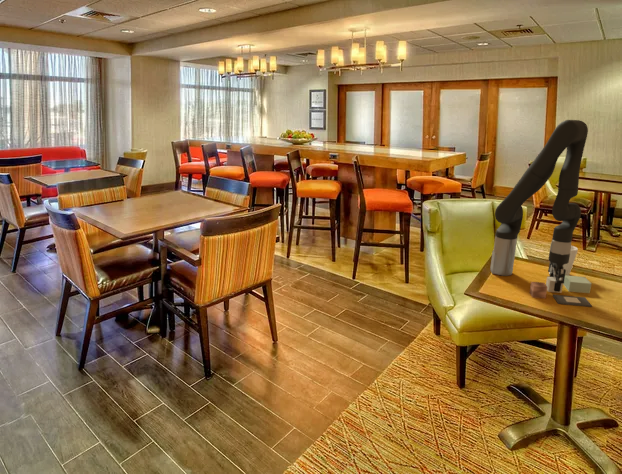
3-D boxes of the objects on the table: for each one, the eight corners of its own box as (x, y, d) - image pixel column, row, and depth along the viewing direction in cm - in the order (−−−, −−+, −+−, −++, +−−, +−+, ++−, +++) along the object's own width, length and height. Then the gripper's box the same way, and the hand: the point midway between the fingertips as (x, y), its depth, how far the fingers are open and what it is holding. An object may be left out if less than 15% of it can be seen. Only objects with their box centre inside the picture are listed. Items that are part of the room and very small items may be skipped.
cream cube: (548, 291, 194) (550, 280, 192) (545, 287, 198) (547, 276, 197) (561, 293, 193) (563, 281, 191) (558, 288, 197) (559, 277, 196)
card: (558, 303, 182) (558, 302, 182) (552, 295, 189) (552, 294, 189) (591, 306, 179) (592, 305, 179) (584, 298, 187) (585, 297, 187)
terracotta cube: (532, 297, 188) (534, 286, 187) (529, 292, 193) (531, 281, 191) (545, 298, 187) (547, 287, 186) (542, 293, 192) (544, 282, 190)
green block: (568, 291, 194) (570, 281, 193) (563, 284, 202) (564, 275, 201) (589, 293, 193) (591, 283, 191) (583, 286, 200) (585, 276, 199)
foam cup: (577, 277, 210) (582, 250, 206) (556, 277, 210) (561, 250, 206) (566, 270, 219) (570, 244, 215) (546, 270, 219) (550, 243, 215)
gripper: (545, 245, 198) (540, 280, 203) (554, 255, 185) (548, 293, 189) (564, 246, 197) (558, 282, 201) (575, 256, 183) (568, 294, 188)
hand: (553, 287), depth 195 cm, fingers open, 8 cm apart
